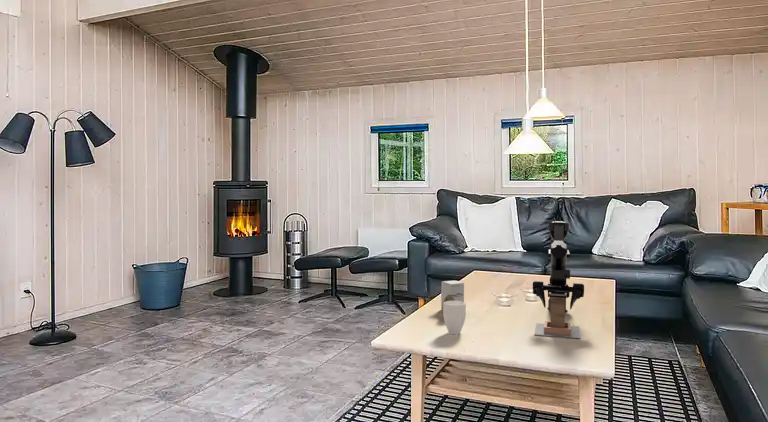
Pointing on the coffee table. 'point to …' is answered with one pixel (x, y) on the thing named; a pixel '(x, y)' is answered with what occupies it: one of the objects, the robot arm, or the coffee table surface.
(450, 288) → the supplement box
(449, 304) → the mug
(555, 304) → the block
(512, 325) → the coffee table surface
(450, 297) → the decorative egg
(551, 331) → the holder
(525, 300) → the coffee table surface
